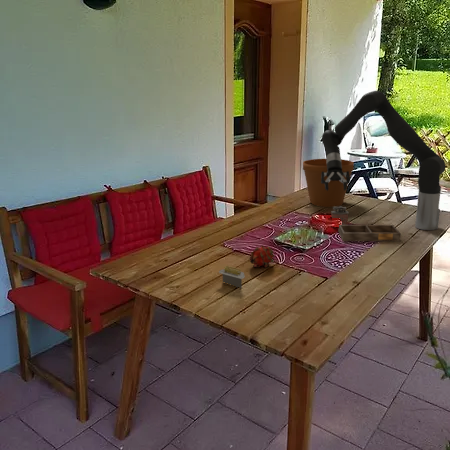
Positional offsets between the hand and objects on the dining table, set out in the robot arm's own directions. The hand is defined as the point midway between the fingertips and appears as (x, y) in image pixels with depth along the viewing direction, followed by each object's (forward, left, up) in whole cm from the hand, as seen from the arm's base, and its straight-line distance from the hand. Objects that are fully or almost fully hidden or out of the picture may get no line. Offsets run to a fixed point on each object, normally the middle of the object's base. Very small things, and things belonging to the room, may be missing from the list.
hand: (336, 189), depth 227 cm
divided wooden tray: (-11, +29, -15) cm, 34 cm away
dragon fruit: (+37, +65, -15) cm, 76 cm away
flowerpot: (0, -33, -15) cm, 36 cm away
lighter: (0, +14, -15) cm, 21 cm away
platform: (+47, +82, -16) cm, 96 cm away
